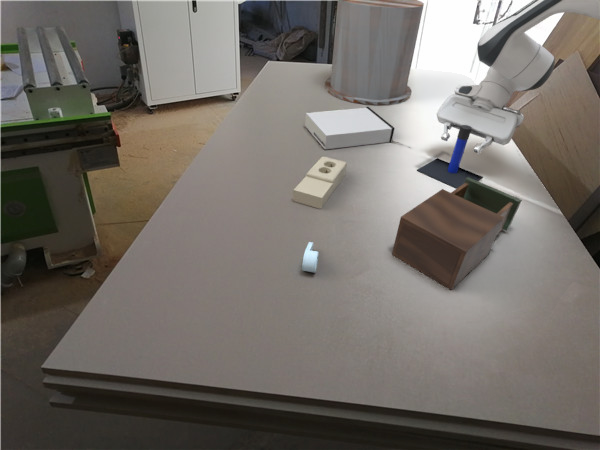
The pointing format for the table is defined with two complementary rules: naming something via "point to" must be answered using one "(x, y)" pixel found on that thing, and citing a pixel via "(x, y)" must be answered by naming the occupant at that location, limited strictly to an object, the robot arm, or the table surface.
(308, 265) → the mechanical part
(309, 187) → the electrical outlet
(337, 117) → the disc drive
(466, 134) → the marker
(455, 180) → the mat
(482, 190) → the drawer
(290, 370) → the table surface
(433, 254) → the cabinet
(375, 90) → the storage basket
